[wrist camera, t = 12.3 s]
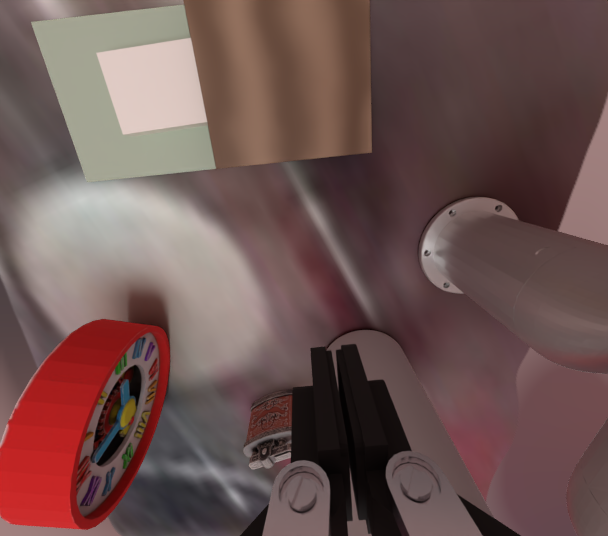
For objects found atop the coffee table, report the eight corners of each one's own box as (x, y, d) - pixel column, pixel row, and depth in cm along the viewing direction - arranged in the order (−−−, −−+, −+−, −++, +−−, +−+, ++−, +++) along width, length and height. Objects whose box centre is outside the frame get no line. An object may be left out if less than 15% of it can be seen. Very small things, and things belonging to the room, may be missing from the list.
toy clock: (170, 408, 46) (82, 579, 27) (132, 404, 46) (17, 575, 27) (170, 297, 39) (54, 423, 21) (125, 290, 39) (-35, 414, 20)
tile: (199, 47, 29) (190, 37, 27) (216, 124, 32) (209, 121, 29) (112, 61, 29) (96, 52, 27) (135, 136, 32) (122, 134, 29)
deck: (359, -14, 28) (369, -40, 24) (363, 153, 33) (371, 152, 30) (195, 5, 28) (179, -18, 24) (225, 167, 34) (216, 168, 30)
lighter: (257, 417, 47) (247, 481, 38) (247, 402, 46) (234, 464, 37) (302, 400, 46) (303, 462, 37) (293, 385, 45) (292, 444, 36)
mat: (185, 6, 28) (183, 4, 28) (216, 168, 34) (216, 168, 33) (34, 23, 28) (30, 22, 28) (89, 181, 34) (87, 182, 33)
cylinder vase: (338, 405, 47) (380, 653, 23) (307, 346, 42) (318, 576, 19) (413, 378, 45) (538, 616, 22) (387, 314, 41) (508, 523, 18)
